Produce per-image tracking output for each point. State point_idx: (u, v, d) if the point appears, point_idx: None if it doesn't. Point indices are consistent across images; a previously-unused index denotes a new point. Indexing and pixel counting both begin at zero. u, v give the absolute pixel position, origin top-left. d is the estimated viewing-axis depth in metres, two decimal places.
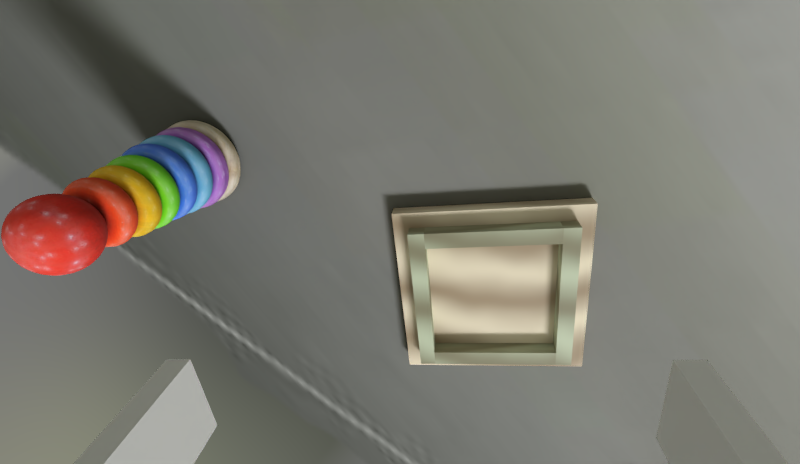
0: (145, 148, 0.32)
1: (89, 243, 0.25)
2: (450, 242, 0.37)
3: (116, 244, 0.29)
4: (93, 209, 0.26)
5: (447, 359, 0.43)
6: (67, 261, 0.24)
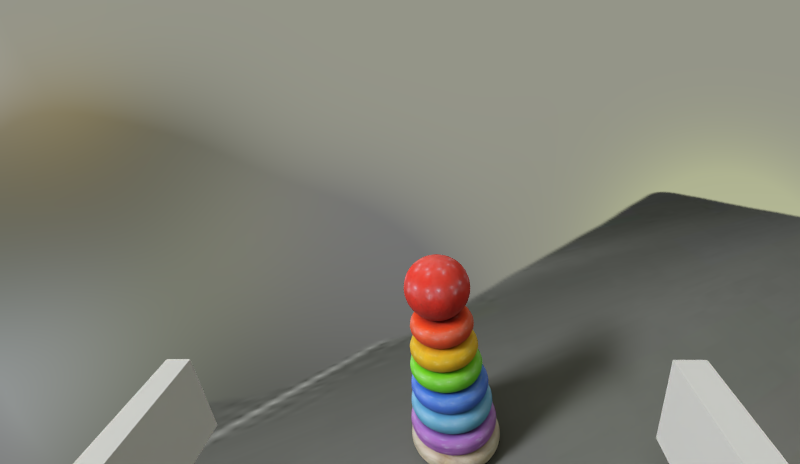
0: (485, 378, 0.34)
1: (428, 301, 0.29)
2: None
3: (412, 324, 0.32)
4: (452, 315, 0.30)
5: None
6: (418, 282, 0.30)
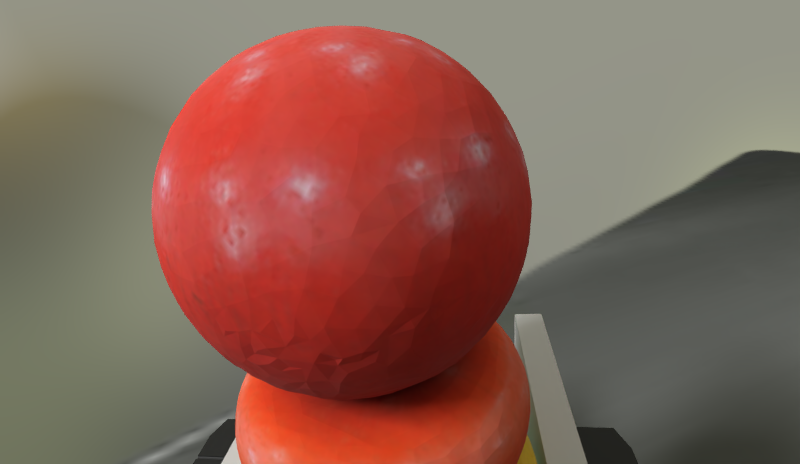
0: None
1: (230, 273, 0.04)
2: None
3: (241, 394, 0.07)
4: (419, 374, 0.05)
5: None
6: (183, 140, 0.04)
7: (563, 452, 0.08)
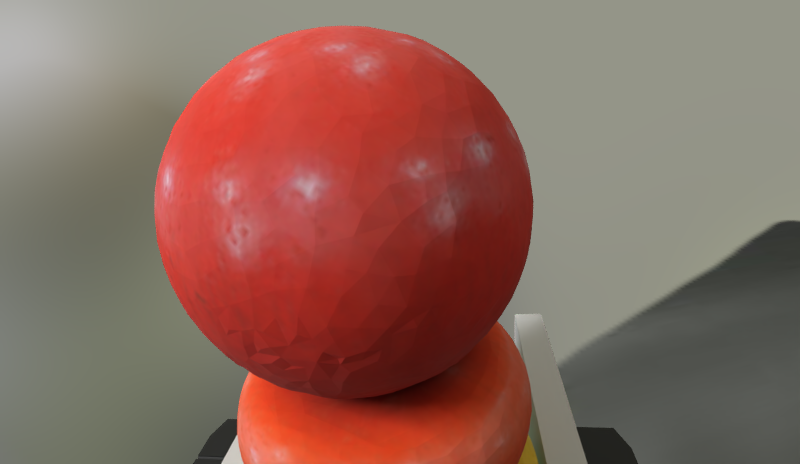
0: None
1: (233, 272, 0.04)
2: None
3: (242, 393, 0.07)
4: (422, 373, 0.05)
5: None
6: (186, 139, 0.04)
7: (563, 452, 0.08)
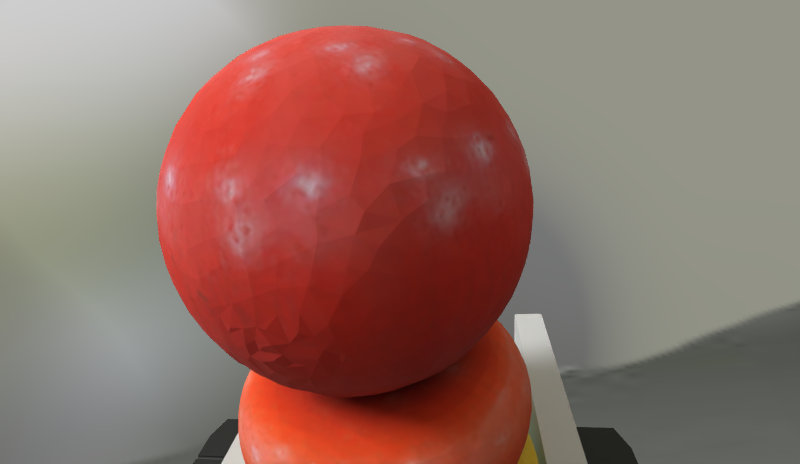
0: None
1: (235, 270, 0.04)
2: None
3: (243, 391, 0.07)
4: (422, 371, 0.05)
5: None
6: (188, 139, 0.04)
7: (563, 452, 0.08)
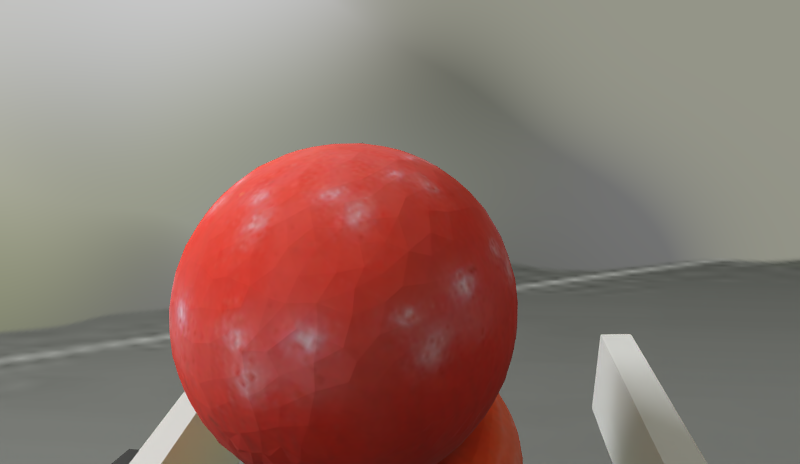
0: None
1: (242, 408, 0.04)
2: None
3: None
4: None
5: None
6: (197, 280, 0.05)
7: None
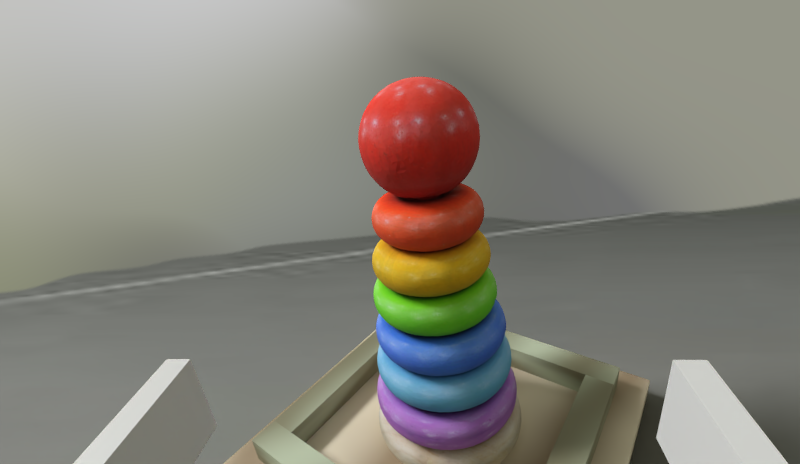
0: (501, 318, 0.20)
1: (397, 143, 0.15)
2: (584, 406, 0.22)
3: (374, 211, 0.18)
4: (444, 180, 0.16)
5: None
6: (381, 111, 0.15)
7: None
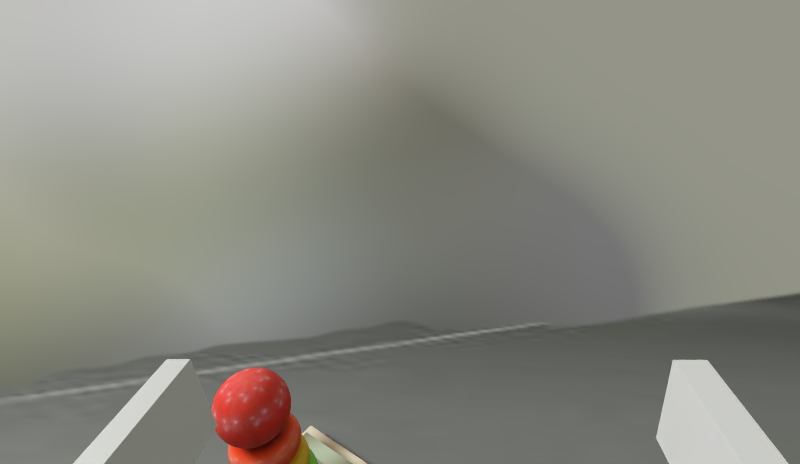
0: None
1: (225, 432, 0.26)
2: None
3: (229, 444, 0.29)
4: (259, 445, 0.27)
5: None
6: (217, 409, 0.26)
7: None
